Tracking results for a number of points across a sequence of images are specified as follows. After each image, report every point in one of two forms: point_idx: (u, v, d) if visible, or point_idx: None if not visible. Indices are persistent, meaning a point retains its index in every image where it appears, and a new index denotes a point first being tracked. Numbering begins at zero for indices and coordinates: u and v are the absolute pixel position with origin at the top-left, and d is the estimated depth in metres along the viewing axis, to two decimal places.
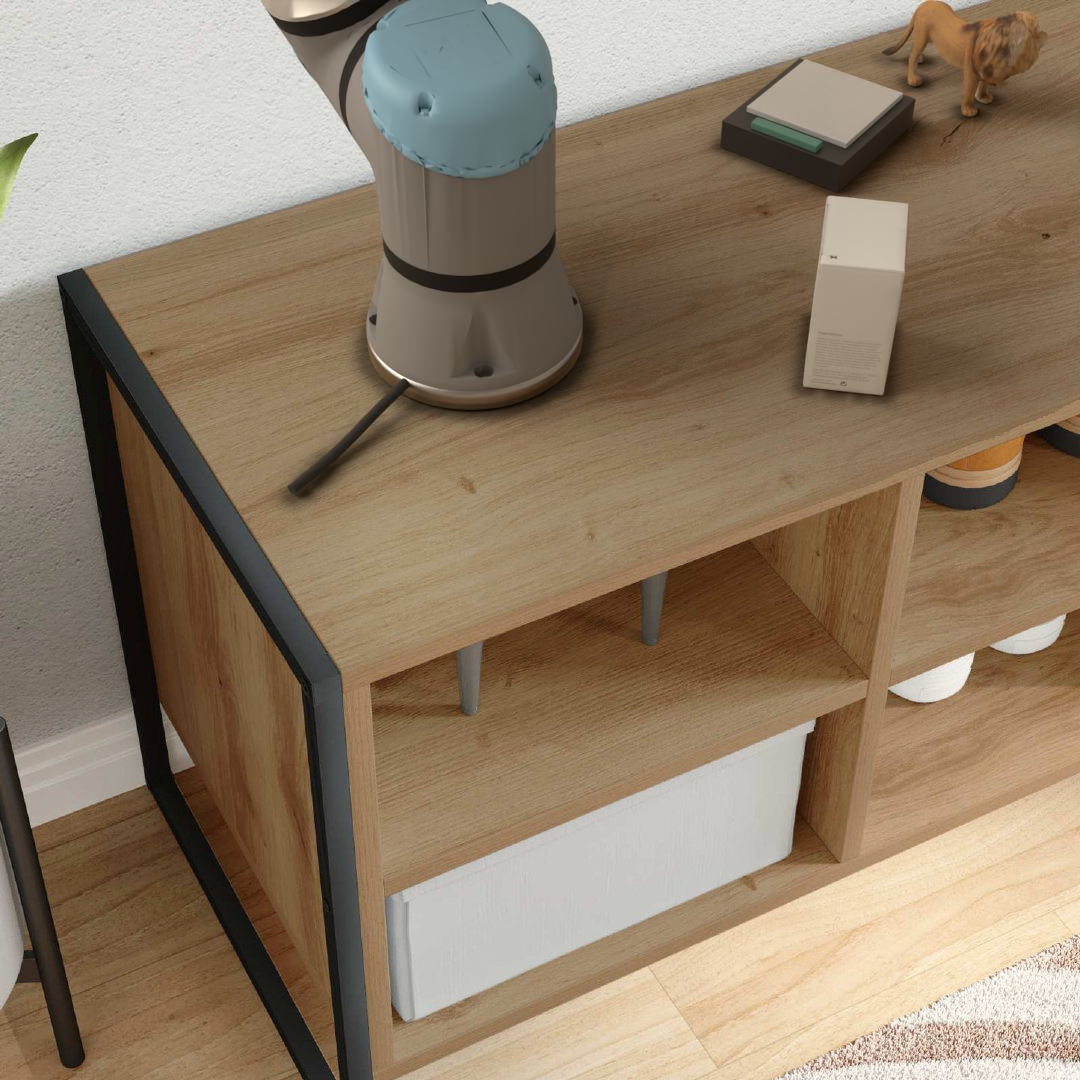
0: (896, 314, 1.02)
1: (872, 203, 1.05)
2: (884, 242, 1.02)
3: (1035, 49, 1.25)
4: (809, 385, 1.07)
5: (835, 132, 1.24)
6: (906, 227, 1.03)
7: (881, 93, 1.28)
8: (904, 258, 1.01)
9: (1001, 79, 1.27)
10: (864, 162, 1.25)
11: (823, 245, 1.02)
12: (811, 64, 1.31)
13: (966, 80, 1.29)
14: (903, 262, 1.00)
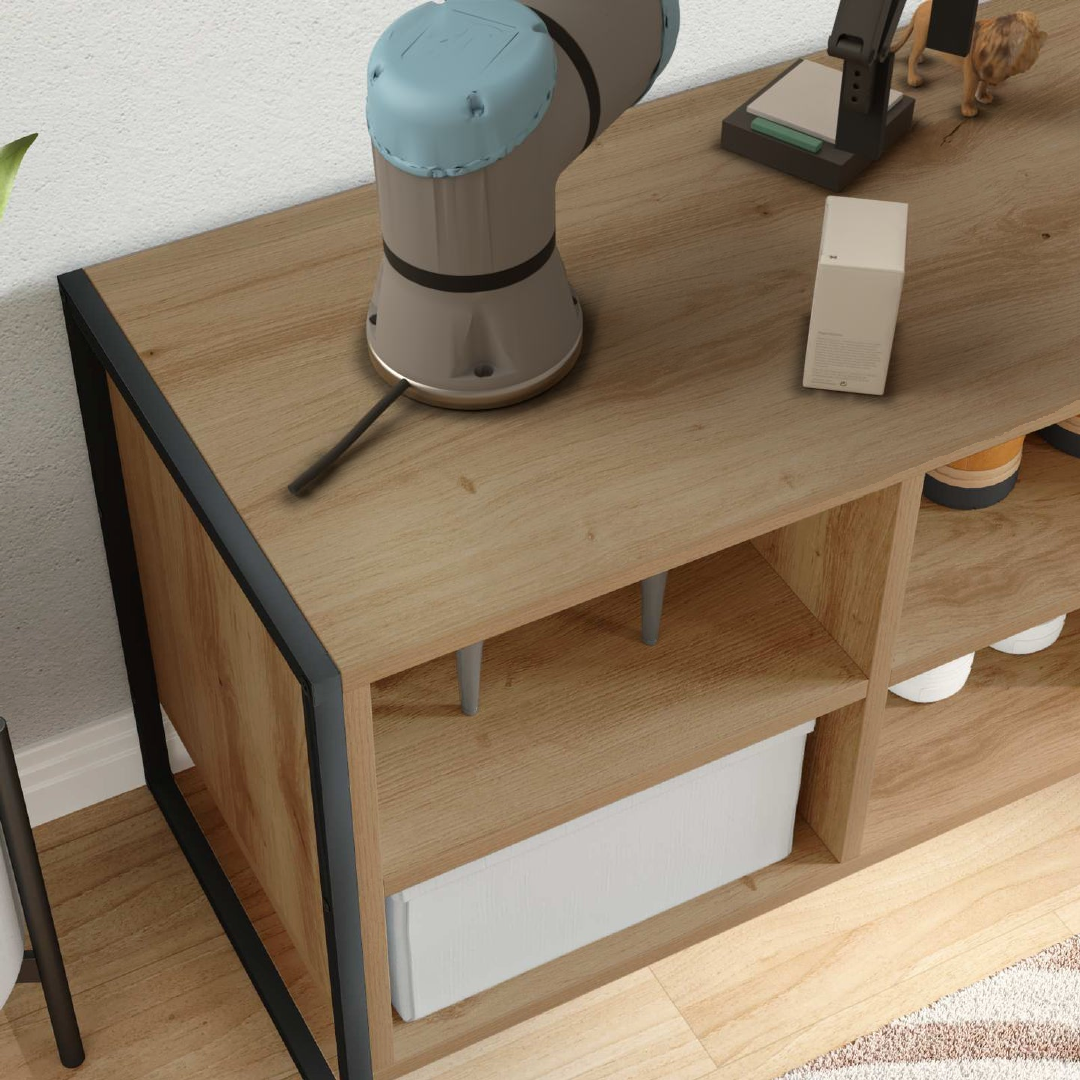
0: (896, 314, 1.02)
1: (871, 203, 1.05)
2: (883, 242, 1.02)
3: (1035, 49, 1.25)
4: (809, 385, 1.07)
5: (835, 132, 1.24)
6: (906, 227, 1.03)
7: None
8: (904, 258, 1.01)
9: (1001, 79, 1.27)
10: (864, 162, 1.25)
11: (823, 245, 1.02)
12: (811, 64, 1.31)
13: (966, 80, 1.29)
14: (903, 262, 1.00)
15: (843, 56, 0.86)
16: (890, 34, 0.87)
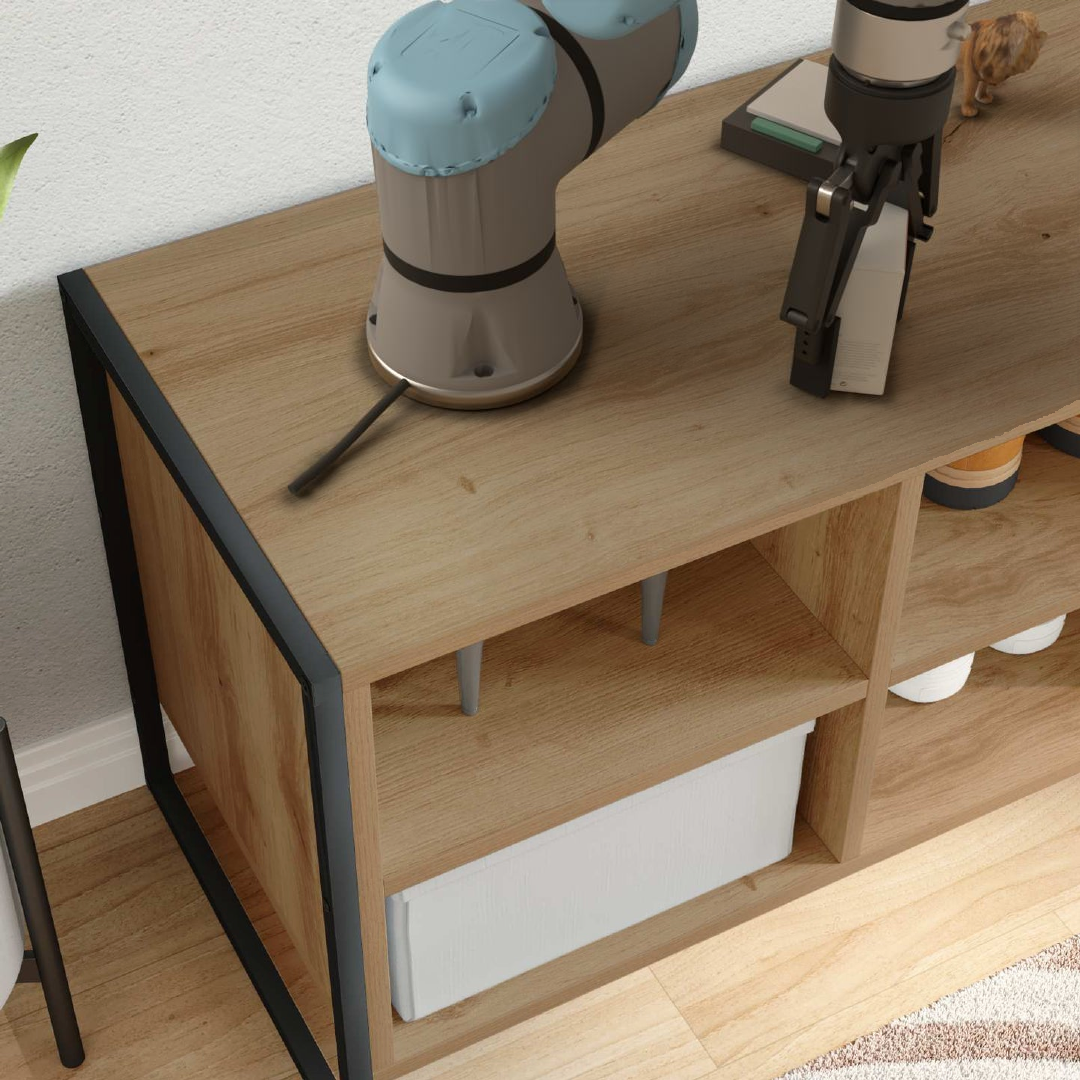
0: (896, 314, 1.02)
1: None
2: (883, 242, 1.02)
3: (1035, 49, 1.25)
4: None
5: (835, 132, 1.24)
6: (906, 227, 1.03)
7: None
8: (903, 258, 1.01)
9: (1001, 79, 1.27)
10: None
11: None
12: (811, 64, 1.31)
13: (966, 80, 1.29)
14: (902, 262, 1.00)
15: (792, 323, 1.00)
16: (835, 305, 1.00)
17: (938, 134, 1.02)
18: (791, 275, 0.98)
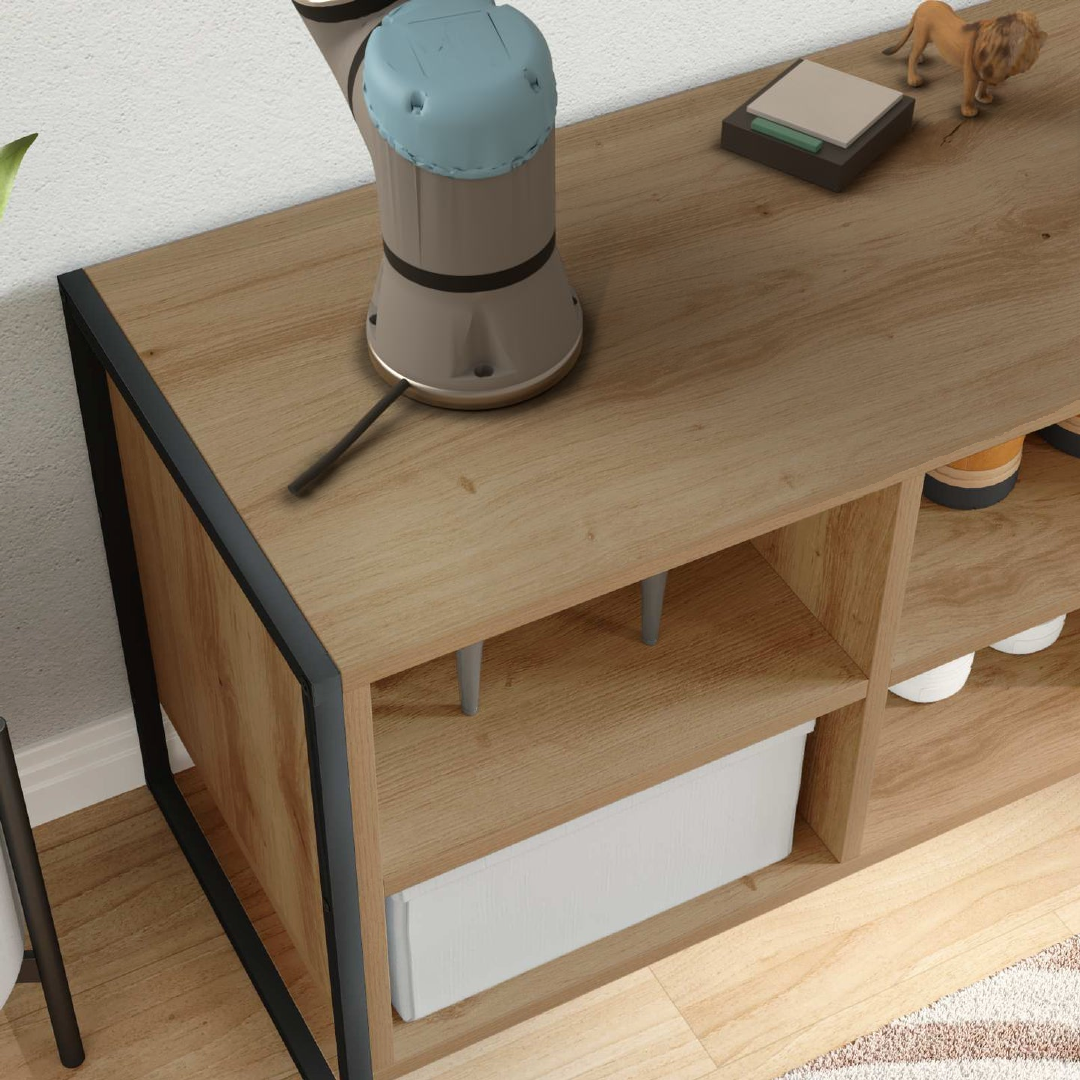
0: None
1: None
2: None
3: (1035, 49, 1.25)
4: None
5: (835, 132, 1.24)
6: None
7: (881, 93, 1.28)
8: None
9: (1001, 79, 1.27)
10: (864, 162, 1.25)
11: None
12: (811, 64, 1.31)
13: (966, 80, 1.29)
14: None
15: None
16: None
17: None
18: None
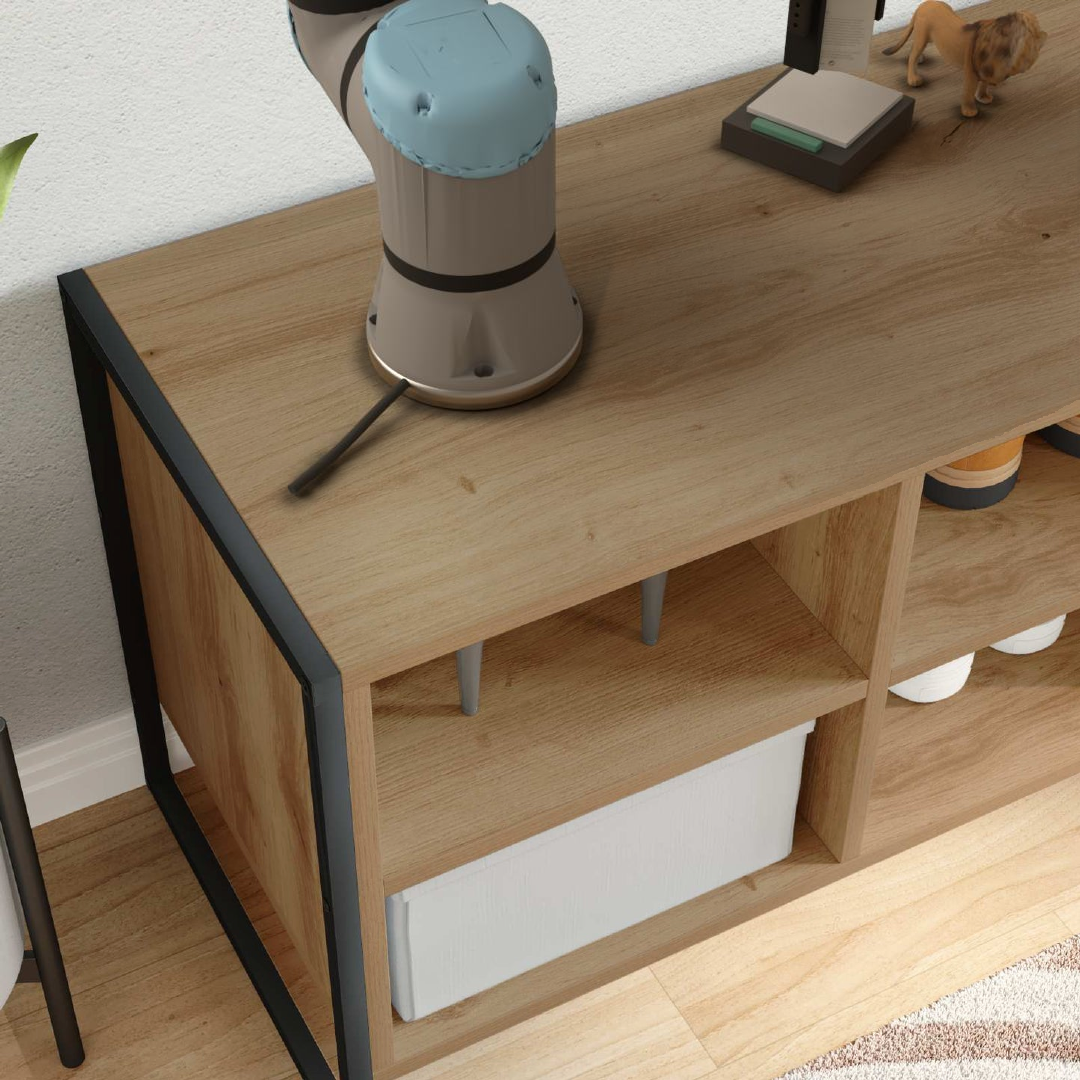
0: None
1: None
2: None
3: (1035, 49, 1.25)
4: None
5: (835, 132, 1.24)
6: None
7: (881, 93, 1.28)
8: None
9: (1001, 79, 1.27)
10: (864, 162, 1.25)
11: None
12: None
13: (966, 80, 1.29)
14: None
15: None
16: None
17: None
18: None
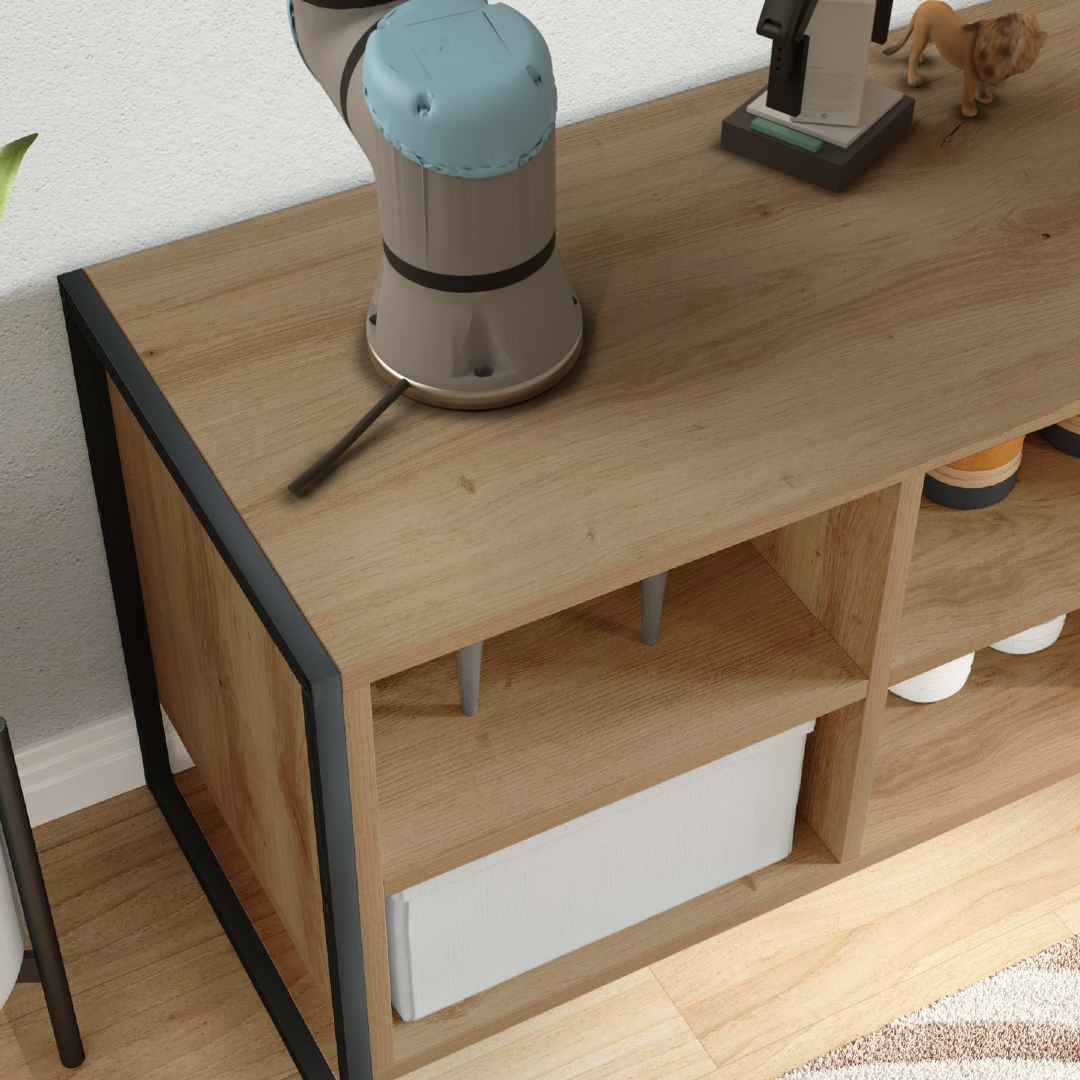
0: (868, 46, 1.19)
1: None
2: None
3: (1035, 49, 1.25)
4: (795, 118, 1.25)
5: (835, 132, 1.24)
6: None
7: (881, 93, 1.28)
8: None
9: (1001, 79, 1.27)
10: (864, 162, 1.25)
11: None
12: None
13: (966, 80, 1.29)
14: None
15: (767, 35, 1.15)
16: (805, 21, 1.16)
17: None
18: None
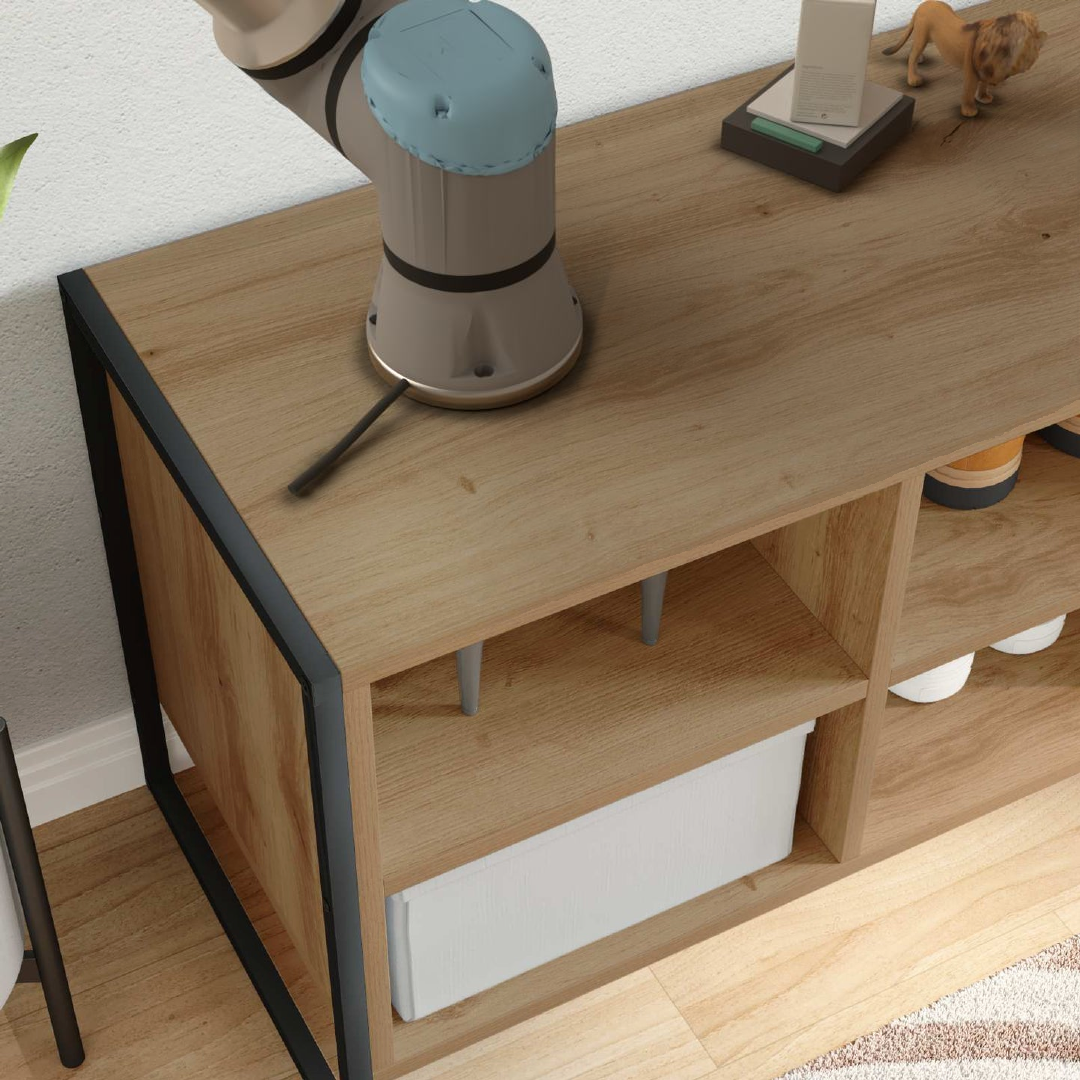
0: (868, 46, 1.19)
1: None
2: None
3: (1035, 49, 1.25)
4: (795, 118, 1.25)
5: (835, 132, 1.24)
6: None
7: (881, 93, 1.28)
8: None
9: (1001, 79, 1.27)
10: (864, 162, 1.25)
11: None
12: None
13: (966, 80, 1.29)
14: None
15: None
16: None
17: None
18: None
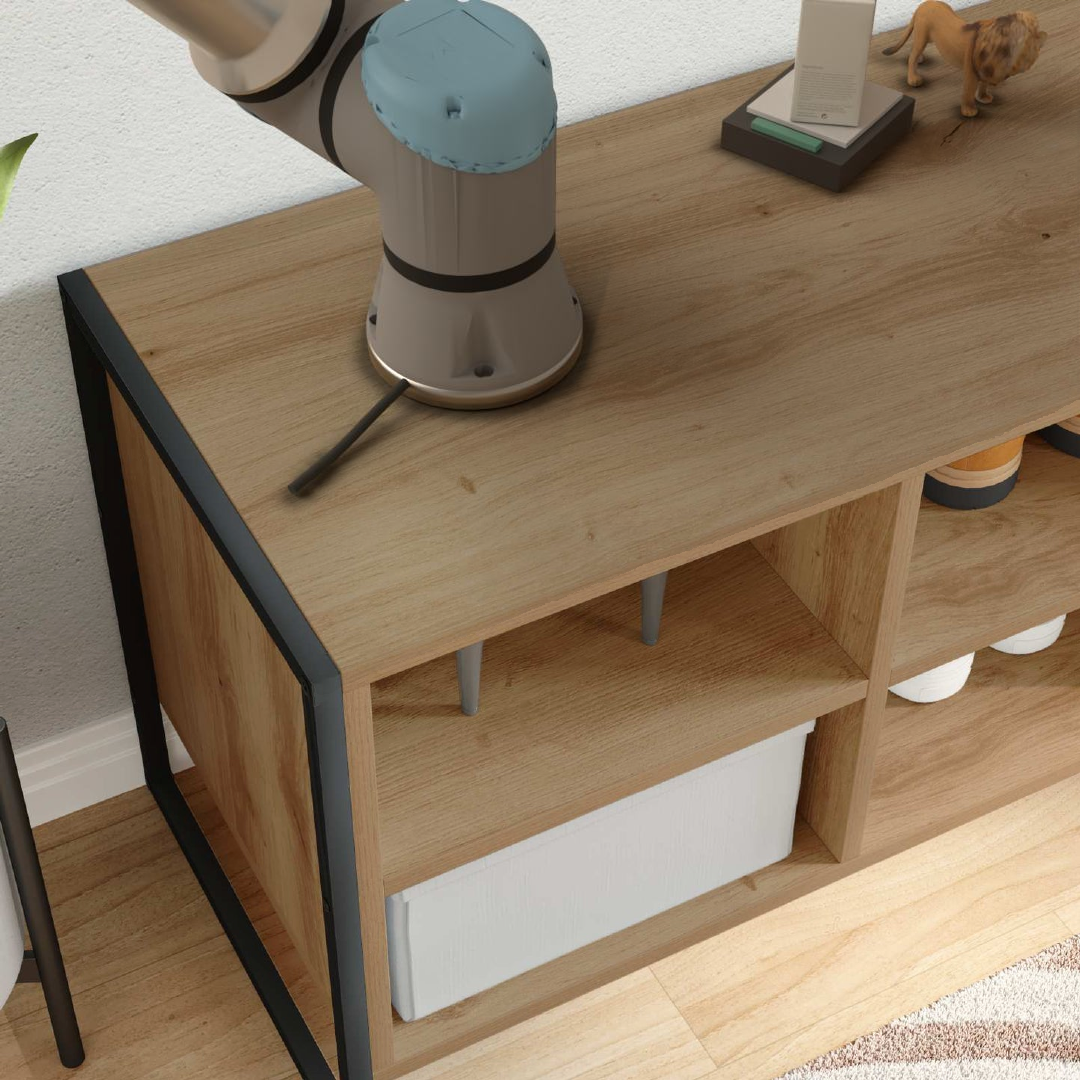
0: (868, 45, 1.19)
1: None
2: None
3: (1035, 49, 1.25)
4: (795, 118, 1.25)
5: (835, 132, 1.24)
6: None
7: (881, 93, 1.28)
8: None
9: (1001, 79, 1.27)
10: (864, 162, 1.25)
11: None
12: None
13: (966, 80, 1.29)
14: None
15: None
16: None
17: None
18: None
